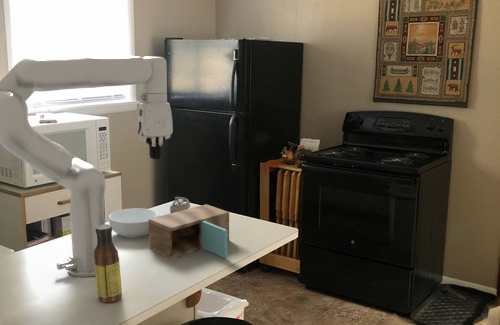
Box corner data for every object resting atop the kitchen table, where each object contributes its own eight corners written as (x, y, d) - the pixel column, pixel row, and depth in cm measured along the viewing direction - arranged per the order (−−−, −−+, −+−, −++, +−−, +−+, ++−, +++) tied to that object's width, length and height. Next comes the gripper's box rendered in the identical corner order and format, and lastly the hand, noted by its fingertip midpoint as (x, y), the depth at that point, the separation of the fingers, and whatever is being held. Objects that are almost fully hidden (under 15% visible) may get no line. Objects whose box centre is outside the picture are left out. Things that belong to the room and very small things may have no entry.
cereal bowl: (139, 245, 185) (138, 225, 183) (99, 238, 192) (98, 218, 190) (168, 230, 200) (167, 211, 198) (130, 223, 207) (129, 205, 205)
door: (230, 256, 175) (230, 229, 173) (224, 258, 174) (224, 230, 172) (207, 246, 184) (206, 219, 182) (201, 247, 182) (201, 221, 180)
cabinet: (171, 258, 174) (170, 228, 172) (149, 248, 183) (148, 218, 180) (229, 240, 190) (229, 212, 188) (206, 231, 199) (206, 204, 197)
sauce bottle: (124, 293, 151) (121, 222, 146) (119, 303, 145) (116, 230, 140) (99, 293, 150) (95, 222, 146) (93, 304, 144) (89, 230, 140)
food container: (188, 233, 196) (187, 206, 194) (170, 233, 197) (169, 206, 194) (192, 222, 208) (192, 196, 206) (175, 222, 209) (175, 196, 206)
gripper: (139, 101, 161) (140, 163, 165) (182, 98, 171) (182, 157, 175) (125, 98, 167) (127, 159, 170) (168, 96, 176) (168, 153, 180)
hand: (155, 158), depth 173 cm, fingers closed
